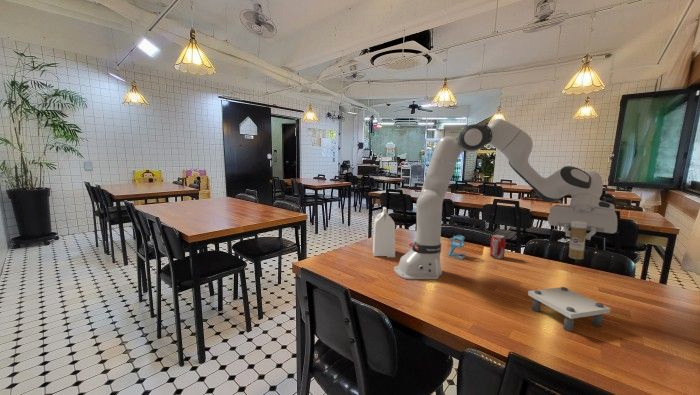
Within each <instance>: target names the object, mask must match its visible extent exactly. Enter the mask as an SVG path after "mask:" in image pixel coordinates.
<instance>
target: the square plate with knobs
mask: <svg viewBox="0 0 700 395" xmlns="http://www.w3.org/2000/svg"><path fill="white" fill-rule="evenodd" d="M527 295H528V297H531V298H532V305H531V310H532V311H533V312H535V311H536V313H537V312H538V313H539V312H541V303H542V304H544V305H545V306H546V307H548V308H550V309H552V310H554V311H556V312H557V313H560V314H562V316H564V318H563V319H564V320H563V327H562V328H563V330H565V331H567V332H573V330H574V324H575V319H579V318H585V317H590V316H592V321H591V324H592V326H593V325H594V326H596V327H598V328H600V327H602V326H603V319H604V315H605V314H610V313H611V310H612V309H611V307H608V306H606V305H604V304H602V303H601V302H597V301H595V300H593V299H592V298H589V297H586V296H584V295H583V294H580V293H578V292H576V291H574V290H571V289H570V288H568V287H565V286H560V287H551V288H544V289H543V288H542V289H536V290H528V292H527Z"/></svg>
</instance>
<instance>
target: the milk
mask: <svg viewBox="0 0 700 395" xmlns="http://www.w3.org/2000/svg"><path fill="white" fill-rule="evenodd" d="M387 210H388V209H387V207H386V206H383V207H382V211H381V213H378V214H377V215H376V216H375V218H374V220H373V221H374V222H373V236H372V238H373V240H372V254H373V253H374V254H373V257H374V256H387V257H386V258H396V224H395V223H396V222H395V221H394V219H392V217H391V216H390V215H389V214H388V213H387Z"/></svg>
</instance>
